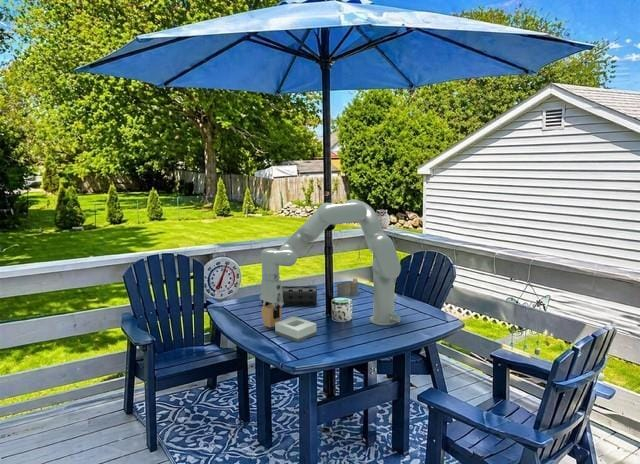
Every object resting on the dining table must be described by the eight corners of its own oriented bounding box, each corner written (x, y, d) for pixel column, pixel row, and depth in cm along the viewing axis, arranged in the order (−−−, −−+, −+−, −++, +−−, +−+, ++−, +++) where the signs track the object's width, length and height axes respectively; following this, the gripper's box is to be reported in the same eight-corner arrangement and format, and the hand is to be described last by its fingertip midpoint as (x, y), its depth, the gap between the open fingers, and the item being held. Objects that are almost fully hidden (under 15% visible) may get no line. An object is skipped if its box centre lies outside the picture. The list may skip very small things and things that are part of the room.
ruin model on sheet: (357, 294, 256) (357, 277, 255) (358, 296, 253) (358, 279, 252) (336, 295, 255) (336, 278, 253) (337, 297, 252) (337, 280, 250)
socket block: (316, 334, 198) (316, 323, 197) (298, 342, 190) (298, 330, 189) (293, 326, 208) (293, 316, 207) (275, 333, 200) (275, 322, 199)
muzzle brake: (316, 308, 234) (316, 288, 232) (261, 308, 234) (260, 288, 232) (316, 302, 243) (316, 283, 241) (263, 302, 244) (263, 283, 242)
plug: (281, 323, 207) (281, 305, 205) (270, 328, 201) (269, 309, 200) (273, 320, 210) (273, 303, 209) (261, 325, 205) (261, 307, 204)
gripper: (290, 278, 199) (291, 318, 202) (264, 272, 211) (265, 310, 214) (277, 282, 194) (278, 323, 197) (251, 275, 205) (252, 314, 208)
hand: (271, 316), depth 205 cm, fingers closed on plug, 5 cm apart
